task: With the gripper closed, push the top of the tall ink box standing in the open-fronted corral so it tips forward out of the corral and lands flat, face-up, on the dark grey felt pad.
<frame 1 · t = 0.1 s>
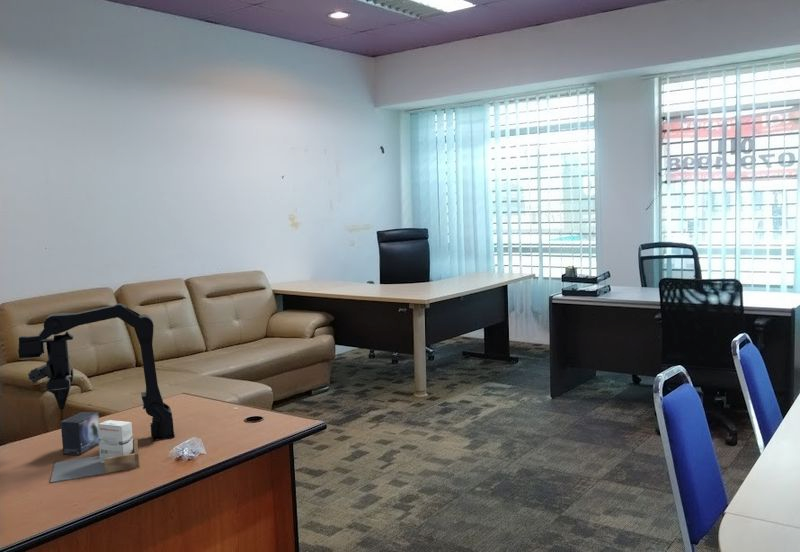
hand: (63, 405, 218), 15 cm above the table, fingers open, 9 cm apart
small box: (82, 449, 221), on the table
ink box: (117, 462, 208), on the table, touching felt pad
felt pad: (79, 468, 205), on the table
corral: (120, 461, 209), on the table
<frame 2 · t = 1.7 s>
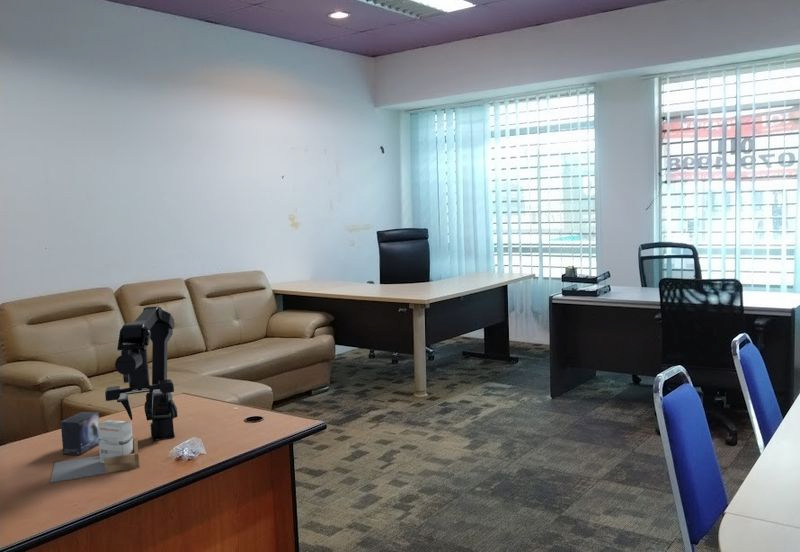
hand: (142, 418, 210), 12 cm above the table, fingers open, 6 cm apart
nothing on the table moved.
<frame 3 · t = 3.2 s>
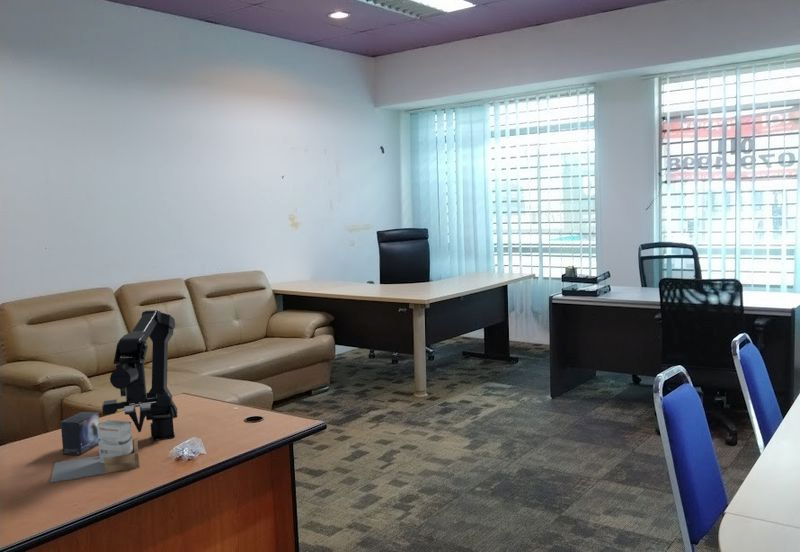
hand: (139, 431, 210), 8 cm above the table, fingers closed
ink box: (117, 462, 208), on the table, touching felt pad, gripper
everything else where it was.
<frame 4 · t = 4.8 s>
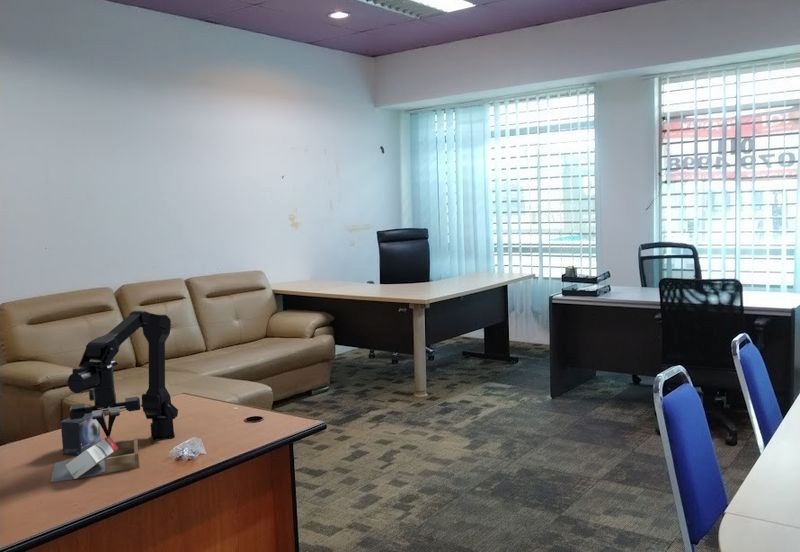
hand: (108, 436, 207), 8 cm above the table, fingers closed
ink box: (103, 449, 207), point 4 cm above the table, touching corral, felt pad
everything else where it was.
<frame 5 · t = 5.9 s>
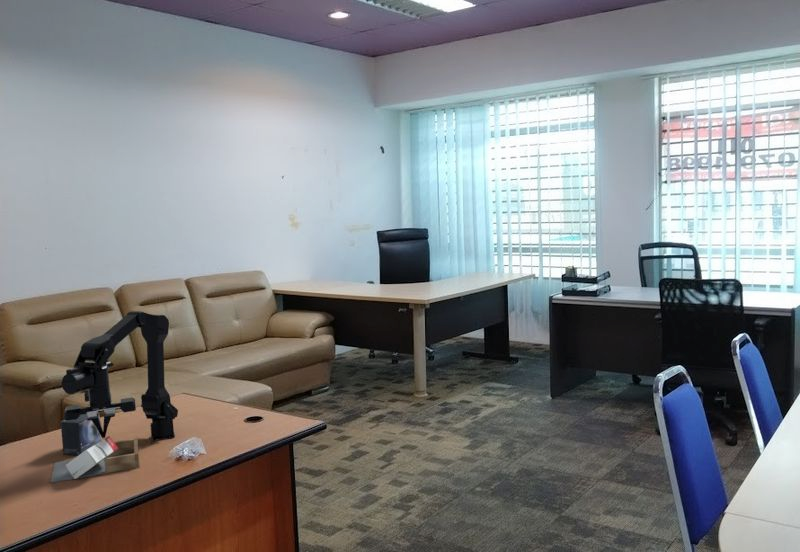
hand: (103, 437, 206), 8 cm above the table, fingers closed
nothing on the table moved.
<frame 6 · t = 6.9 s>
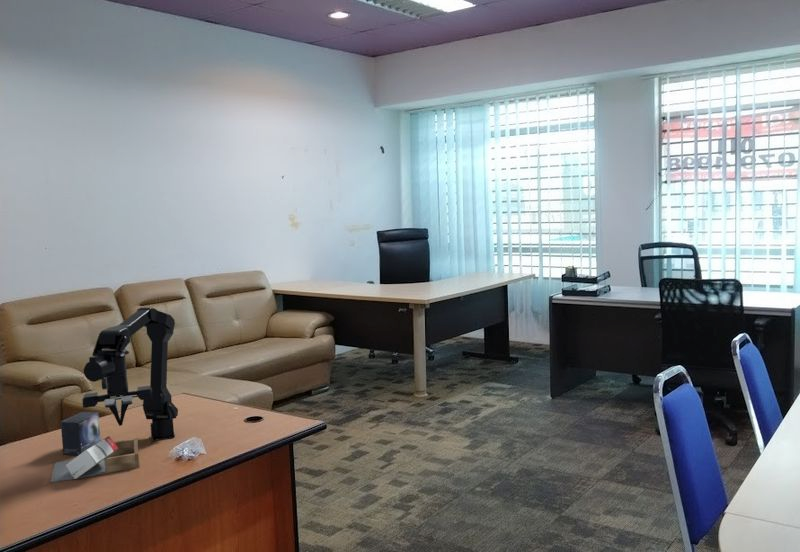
hand: (120, 425, 208), 11 cm above the table, fingers closed
nothing on the table moved.
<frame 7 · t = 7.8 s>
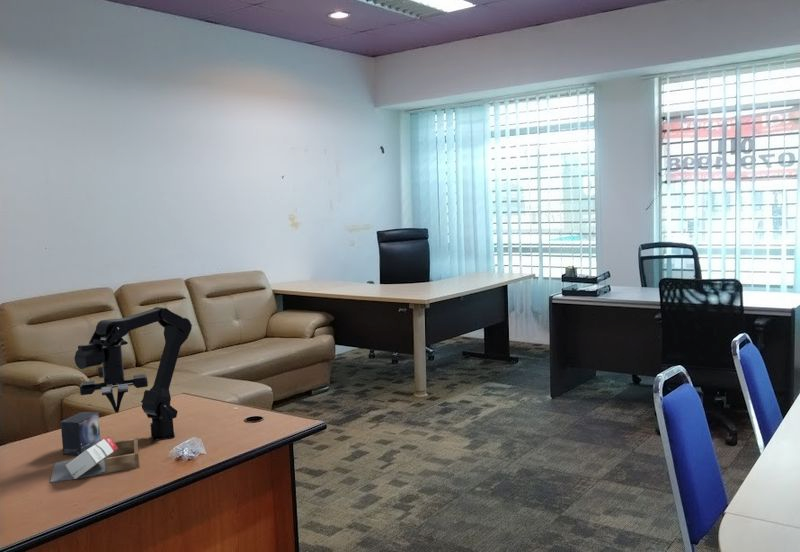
hand: (117, 412, 216), 12 cm above the table, fingers closed
nothing on the table moved.
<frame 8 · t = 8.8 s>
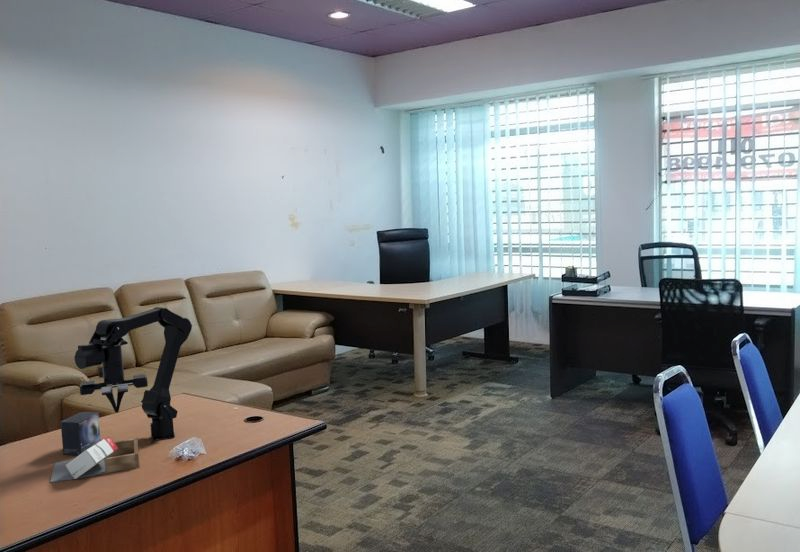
hand: (116, 412, 216), 13 cm above the table, fingers closed
nothing on the table moved.
at the end: ink box tilted 90°; ink box inside the target area (5.8 cm from its centre), point 4.4 cm above the table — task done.
